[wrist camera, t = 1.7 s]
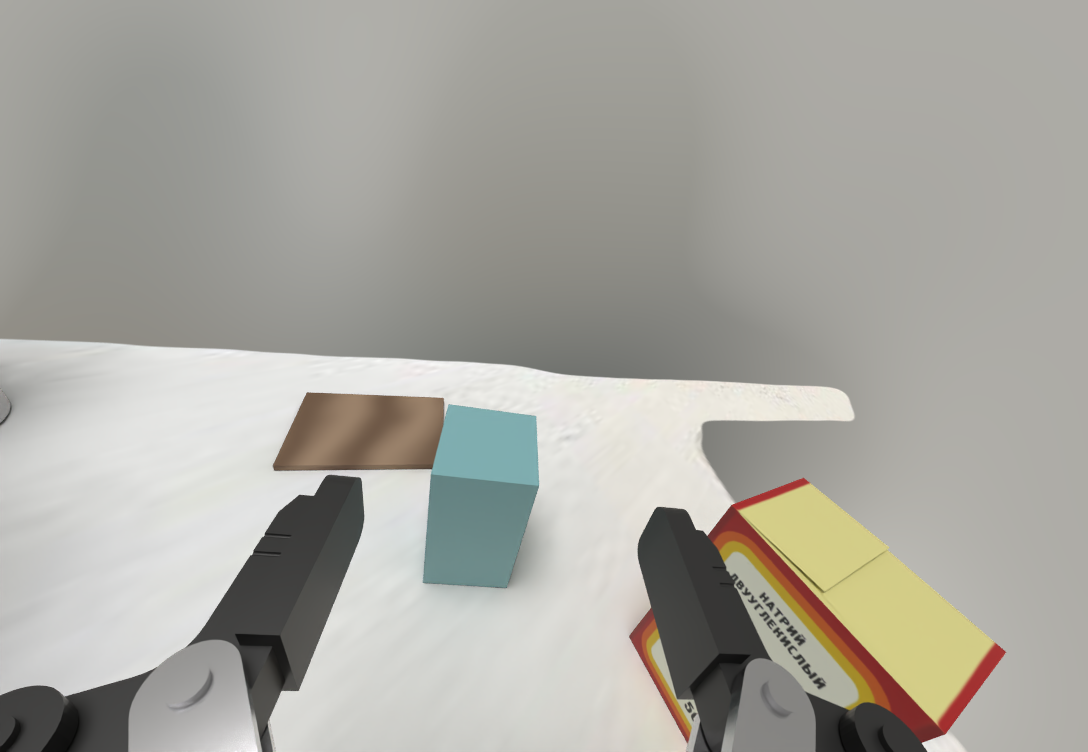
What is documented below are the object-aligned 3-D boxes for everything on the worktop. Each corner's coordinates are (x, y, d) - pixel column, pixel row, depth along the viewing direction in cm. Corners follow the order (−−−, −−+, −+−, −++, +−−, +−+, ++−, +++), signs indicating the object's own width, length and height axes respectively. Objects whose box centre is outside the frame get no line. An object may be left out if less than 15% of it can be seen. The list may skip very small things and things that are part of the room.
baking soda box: (792, 750, 25) (1014, 648, 16) (725, 813, 22) (954, 730, 13) (691, 603, 31) (807, 473, 22) (628, 636, 28) (735, 500, 19)
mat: (274, 470, 33) (272, 465, 32) (307, 396, 41) (306, 392, 40) (442, 468, 37) (442, 464, 36) (443, 401, 45) (443, 397, 44)
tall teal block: (422, 582, 28) (430, 474, 21) (438, 510, 33) (448, 404, 26) (506, 587, 29) (539, 485, 22) (509, 516, 34) (536, 416, 27)
